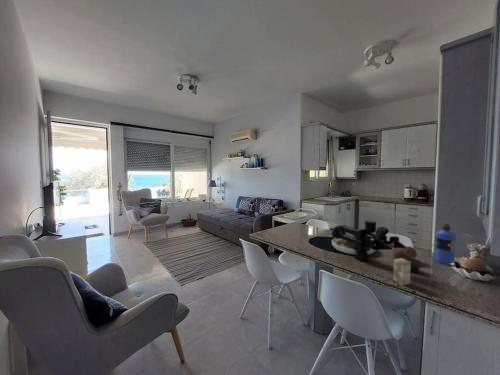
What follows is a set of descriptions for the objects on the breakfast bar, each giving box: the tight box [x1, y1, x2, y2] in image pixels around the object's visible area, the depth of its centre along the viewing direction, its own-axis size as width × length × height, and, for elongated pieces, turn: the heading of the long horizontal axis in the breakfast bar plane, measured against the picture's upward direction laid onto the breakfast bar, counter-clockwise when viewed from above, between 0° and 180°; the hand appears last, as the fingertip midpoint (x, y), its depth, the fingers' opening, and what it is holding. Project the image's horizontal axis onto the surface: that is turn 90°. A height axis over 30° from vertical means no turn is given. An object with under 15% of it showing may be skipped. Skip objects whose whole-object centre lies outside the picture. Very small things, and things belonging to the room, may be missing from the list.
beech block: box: [392, 258, 411, 286], centre depth 107 cm, size 5×5×12 cm
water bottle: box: [434, 222, 457, 266], centre depth 130 cm, size 9×9×25 cm
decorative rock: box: [391, 245, 418, 260], centre depth 134 cm, size 13×11×10 cm
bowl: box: [331, 238, 376, 256], centre depth 156 cm, size 30×30×8 cm
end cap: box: [398, 257, 422, 274], centre depth 121 cm, size 10×7×7 cm
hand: (398, 247), depth 111 cm, fingers open, 9 cm apart
